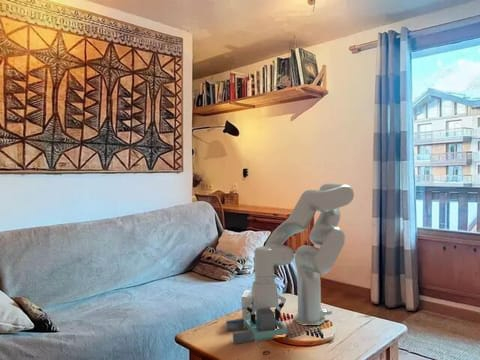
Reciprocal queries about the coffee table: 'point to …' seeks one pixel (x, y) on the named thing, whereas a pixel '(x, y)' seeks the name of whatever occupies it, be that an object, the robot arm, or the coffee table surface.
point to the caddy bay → (239, 336)
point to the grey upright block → (265, 319)
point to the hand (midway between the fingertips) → (265, 321)
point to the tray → (265, 334)
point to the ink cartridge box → (245, 312)
